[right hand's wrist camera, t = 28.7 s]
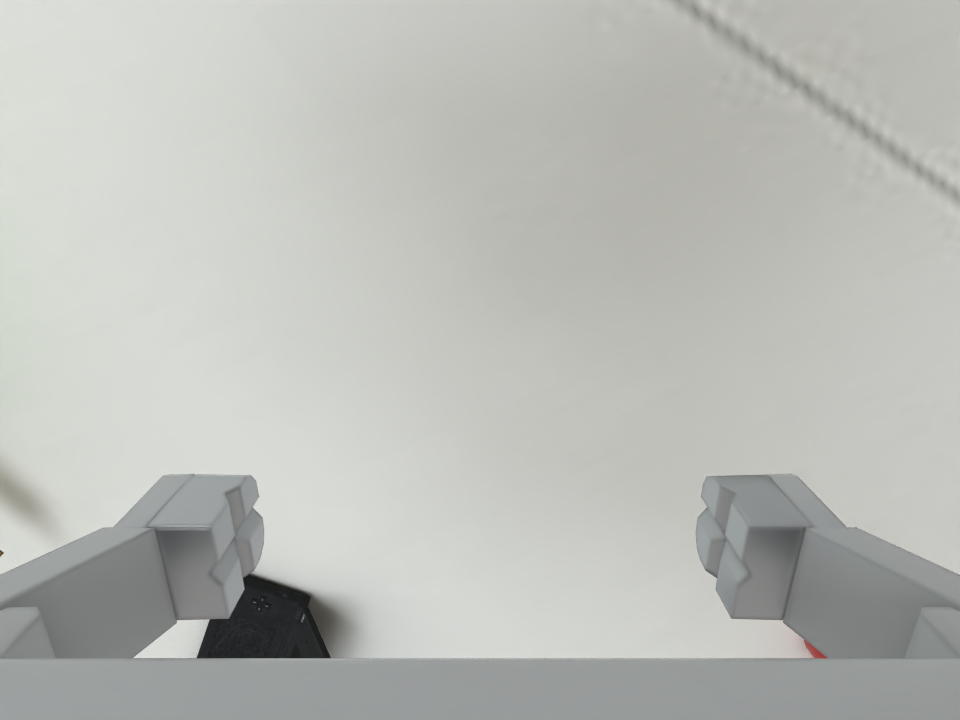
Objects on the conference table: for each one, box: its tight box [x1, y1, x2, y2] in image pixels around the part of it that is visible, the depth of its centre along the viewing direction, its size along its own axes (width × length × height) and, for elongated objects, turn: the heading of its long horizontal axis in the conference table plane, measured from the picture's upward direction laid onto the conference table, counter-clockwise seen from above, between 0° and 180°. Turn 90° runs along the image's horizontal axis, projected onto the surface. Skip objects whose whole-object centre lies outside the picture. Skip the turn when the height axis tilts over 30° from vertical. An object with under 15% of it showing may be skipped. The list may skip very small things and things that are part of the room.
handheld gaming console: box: [197, 576, 330, 658], centre depth 40 cm, size 12×7×10 cm
